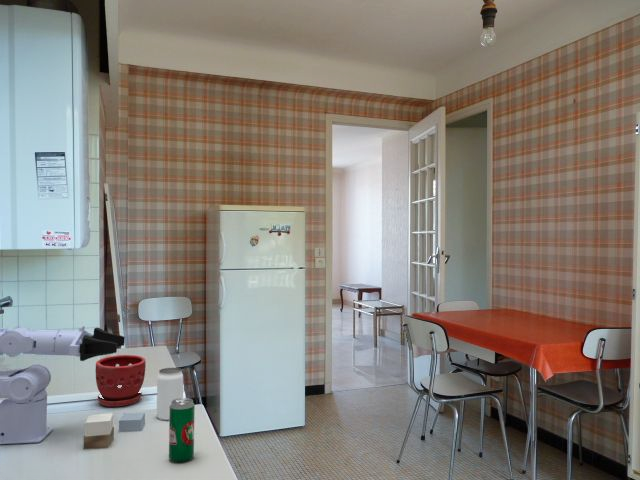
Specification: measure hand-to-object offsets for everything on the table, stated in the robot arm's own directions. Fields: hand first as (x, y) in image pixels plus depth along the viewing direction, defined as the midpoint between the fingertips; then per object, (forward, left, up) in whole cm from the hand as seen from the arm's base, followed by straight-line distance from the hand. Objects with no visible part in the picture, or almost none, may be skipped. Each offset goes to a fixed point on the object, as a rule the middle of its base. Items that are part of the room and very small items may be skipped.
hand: (120, 344), depth 116 cm
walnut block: (-3, -6, -21) cm, 22 cm away
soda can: (+16, -16, -21) cm, 31 cm away
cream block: (-3, -6, -18) cm, 19 cm away
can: (+10, +10, -21) cm, 25 cm away
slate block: (+2, +3, -21) cm, 21 cm away
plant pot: (-5, +23, -21) cm, 32 cm away
